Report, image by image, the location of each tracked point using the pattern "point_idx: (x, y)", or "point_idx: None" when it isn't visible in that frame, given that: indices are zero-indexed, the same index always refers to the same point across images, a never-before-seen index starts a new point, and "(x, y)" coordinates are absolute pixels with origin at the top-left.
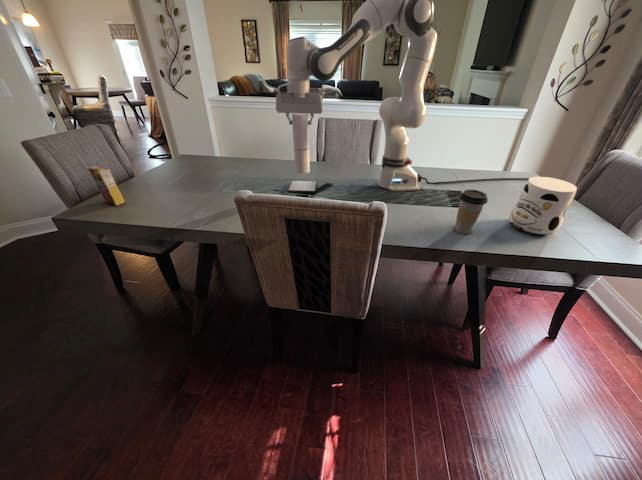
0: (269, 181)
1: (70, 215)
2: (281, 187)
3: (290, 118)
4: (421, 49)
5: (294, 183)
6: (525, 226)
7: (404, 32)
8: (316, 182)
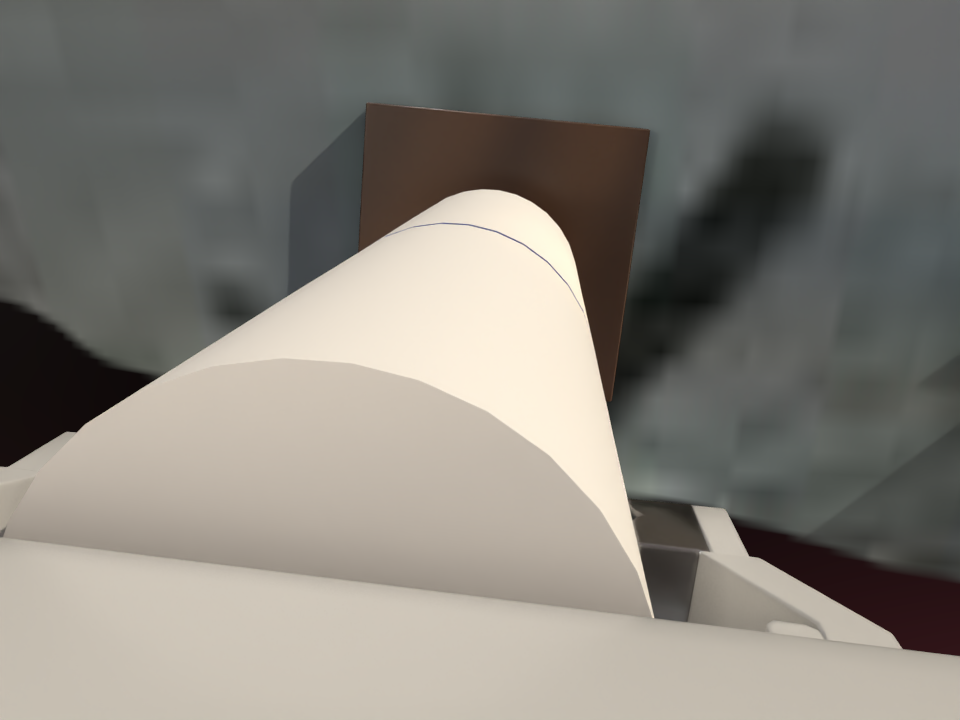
0: (117, 52)
1: None
2: (274, 233)
3: (22, 482)
4: None
5: (400, 191)
6: None
7: None
8: (645, 160)
